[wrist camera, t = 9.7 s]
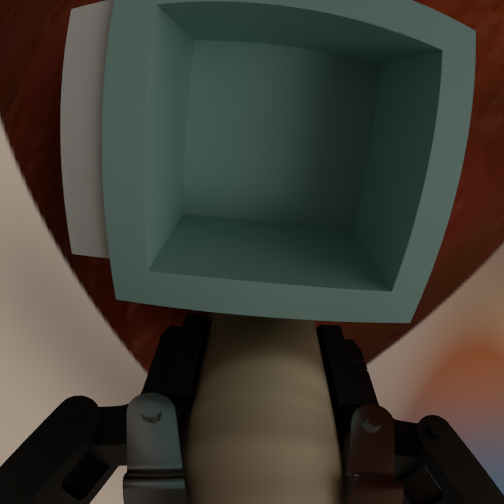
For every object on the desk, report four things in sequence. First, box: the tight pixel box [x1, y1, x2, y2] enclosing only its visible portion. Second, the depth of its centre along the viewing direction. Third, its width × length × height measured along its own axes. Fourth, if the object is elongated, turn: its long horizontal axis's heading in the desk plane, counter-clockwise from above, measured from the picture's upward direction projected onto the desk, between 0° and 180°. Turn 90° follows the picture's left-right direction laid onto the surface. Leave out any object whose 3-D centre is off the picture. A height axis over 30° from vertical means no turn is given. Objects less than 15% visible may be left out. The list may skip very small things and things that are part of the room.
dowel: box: [182, 312, 343, 504], centre depth 8 cm, size 4×4×9 cm
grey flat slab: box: [60, 0, 115, 258], centre depth 7 cm, size 6×1×4 cm, turn 175°
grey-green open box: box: [102, 0, 476, 323], centre depth 7 cm, size 7×7×4 cm
